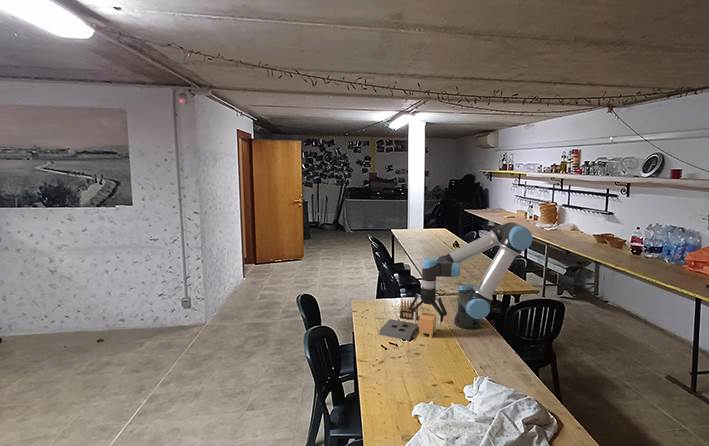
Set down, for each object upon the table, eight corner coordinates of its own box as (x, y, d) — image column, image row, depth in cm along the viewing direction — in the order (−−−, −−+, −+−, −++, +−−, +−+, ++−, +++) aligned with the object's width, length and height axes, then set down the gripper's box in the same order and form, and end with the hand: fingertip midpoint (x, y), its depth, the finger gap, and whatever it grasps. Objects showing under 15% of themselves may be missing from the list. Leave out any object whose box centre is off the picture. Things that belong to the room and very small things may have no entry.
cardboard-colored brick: (435, 332, 215) (436, 314, 214) (432, 338, 208) (432, 320, 207) (422, 329, 218) (423, 312, 217) (418, 335, 211) (419, 317, 209)
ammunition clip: (418, 319, 233) (418, 300, 231) (417, 320, 231) (418, 301, 229) (400, 317, 236) (400, 298, 234) (399, 318, 235) (400, 299, 233)
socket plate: (418, 327, 221) (418, 323, 220) (409, 340, 205) (409, 336, 205) (389, 322, 228) (389, 319, 227) (379, 334, 212) (379, 330, 212)
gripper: (453, 288, 207) (451, 326, 211) (407, 282, 217) (406, 318, 221) (451, 292, 201) (448, 331, 204) (403, 285, 211) (402, 323, 214)
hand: (427, 325), depth 212 cm, fingers open, 13 cm apart
